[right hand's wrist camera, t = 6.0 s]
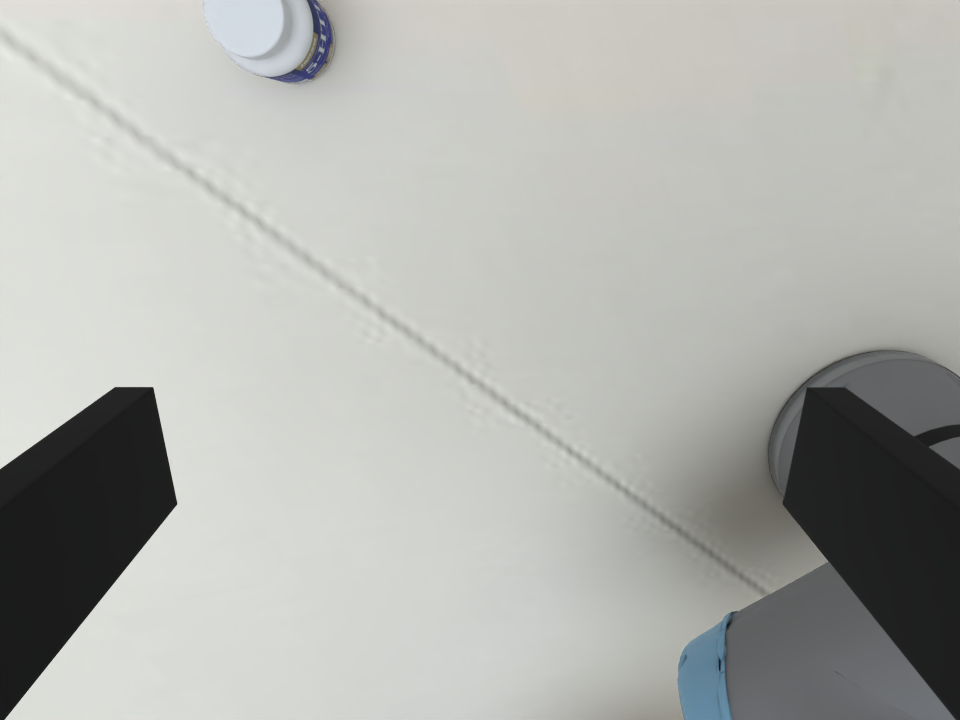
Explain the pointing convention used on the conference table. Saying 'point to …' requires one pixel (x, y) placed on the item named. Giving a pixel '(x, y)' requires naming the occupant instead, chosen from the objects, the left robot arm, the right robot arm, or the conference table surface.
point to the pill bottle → (274, 36)
